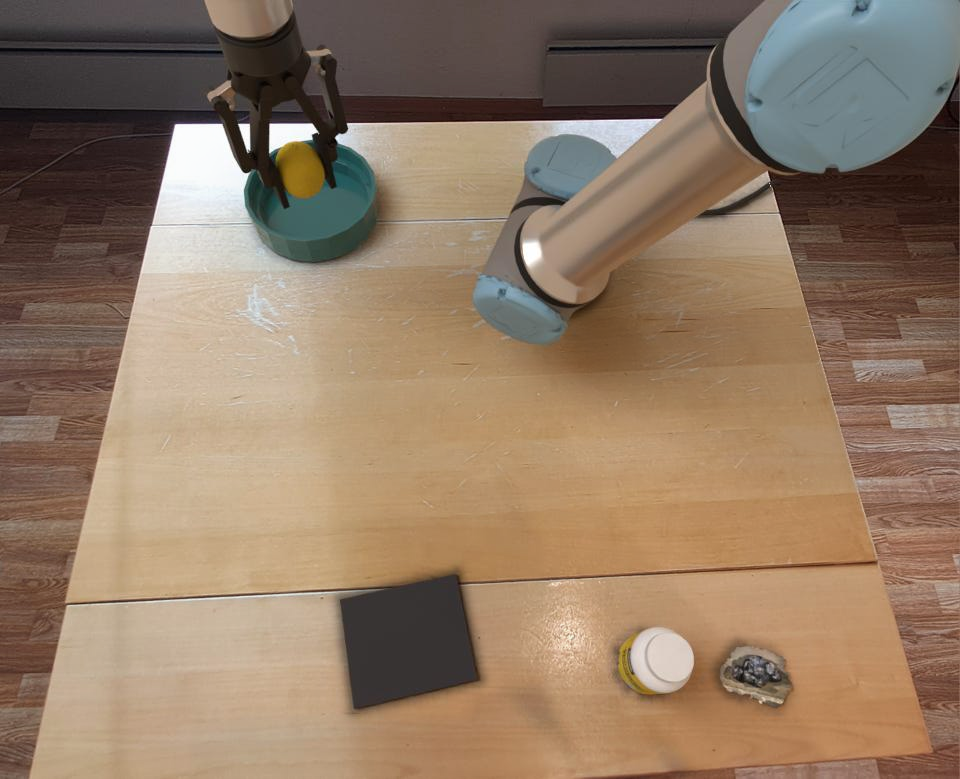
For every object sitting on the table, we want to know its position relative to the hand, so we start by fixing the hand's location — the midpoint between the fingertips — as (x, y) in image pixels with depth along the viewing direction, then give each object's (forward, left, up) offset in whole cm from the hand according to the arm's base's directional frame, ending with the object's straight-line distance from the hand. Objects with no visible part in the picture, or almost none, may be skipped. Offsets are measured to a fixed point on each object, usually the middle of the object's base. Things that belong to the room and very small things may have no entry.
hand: (306, 190), depth 84 cm
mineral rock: (-40, +64, -19) cm, 78 cm away
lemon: (0, 0, -1) cm, 1 cm away
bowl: (+1, -13, -19) cm, 23 cm away
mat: (-2, +52, -19) cm, 55 cm away
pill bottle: (-28, +60, -19) cm, 69 cm away
